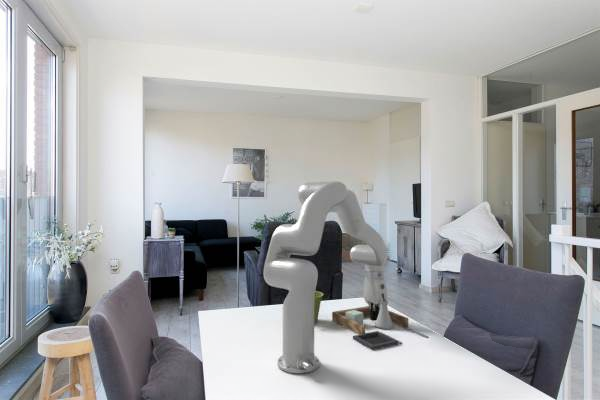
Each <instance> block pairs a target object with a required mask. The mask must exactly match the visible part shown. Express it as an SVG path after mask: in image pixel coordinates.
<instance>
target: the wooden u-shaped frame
mask: <svg viewBox="0 0 600 400" xmlns="http://www.w3.org/2000/svg"><path fill="white" fill-rule="evenodd" d="M352 310H356V311H359V312H362V313H363V318H364V317H370V309H369V305H368V306H367V305H366V306H362V307H355V308H347V309H342V310H335V311H332V312H331V319H332V320H331V321H333V322H334V323H336V324H338V325H340V326H342V327H344V328H346V329H347V330H349V331H351V332H353V333H355V334H356V335H360V334H365V333H366V326H365V325H364V324H363V325H361V324H359V323H357V322H355V321H353V320H351V319H349V318H347V317H345V312H348V311H352ZM379 311H380V310H379ZM388 312H389V315H390V318H391V321H392V323H395V324H396V325H398V326H400V327H403V328H405V327H408V328H409V318H408V317H406V316H404V315H401V314H399V313H396V312H394V311H391V310H389V309H388Z"/></svg>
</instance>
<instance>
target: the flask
mask: <svg viewBox="0 0 600 400" xmlns="http://www.w3.org/2000/svg"><path fill="white" fill-rule="evenodd" d="M383 301H384V302H381V301H380V311H379V314H378V318H377V320H375V323H374V328H377V329H380V330H381V329H382V330H390V329H394V328H393V327H394V324H393V322H392V321H391V318H390V315H389V312H388V310H389V308H388V303H389V300H387V301H386V300H383Z"/></svg>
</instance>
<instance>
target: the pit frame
mask: <svg viewBox="0 0 600 400" xmlns="http://www.w3.org/2000/svg"><path fill="white" fill-rule="evenodd" d="M381 332H382V331H379V330H375V331H370V332H365V334H360V335H358V334H355V335H352V340H353V341H355V342H357V343H359V344H361V345H362V346H364V347H366V348H368V349H369V350H371V351H376V350H380V349H383V348H389V347H393V346H397V345H399V343H398V341H399V340H398V339H396V338H394V337H392V336H390V335H388V336H387V334H386V333H384V332H382V333H381ZM383 333H384V334H383ZM385 334H386V335H385ZM389 336H390V337H389ZM391 337H392V338H391ZM393 338H394V339H393ZM395 339H396V340H395ZM397 340H398V341H397Z"/></svg>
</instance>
